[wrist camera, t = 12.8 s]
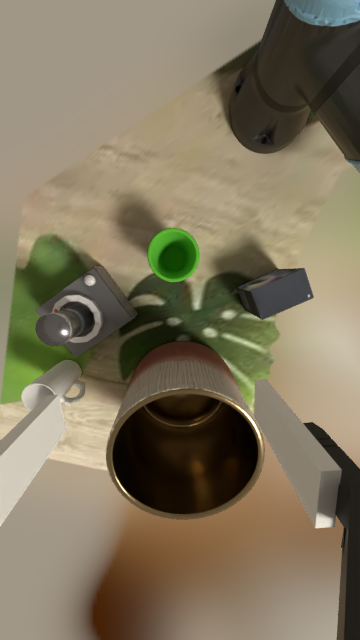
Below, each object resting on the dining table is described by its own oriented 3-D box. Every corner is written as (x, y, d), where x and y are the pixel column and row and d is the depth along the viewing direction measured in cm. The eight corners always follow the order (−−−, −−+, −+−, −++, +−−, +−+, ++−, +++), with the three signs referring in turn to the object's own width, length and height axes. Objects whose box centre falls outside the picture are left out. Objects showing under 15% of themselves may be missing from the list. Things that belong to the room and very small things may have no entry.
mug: (52, 377, 53) (17, 407, 42) (60, 354, 52) (26, 378, 40) (90, 391, 54) (67, 424, 43) (99, 369, 53) (77, 397, 41)
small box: (278, 266, 48) (306, 265, 38) (287, 292, 50) (316, 298, 40) (235, 286, 49) (250, 290, 39) (245, 311, 51) (262, 321, 40)
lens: (65, 305, 44) (32, 314, 35) (91, 304, 44) (67, 313, 35) (68, 331, 46) (38, 347, 36) (94, 330, 46) (71, 346, 36)
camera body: (103, 266, 48) (90, 265, 40) (138, 313, 50) (131, 320, 43) (49, 306, 49) (27, 312, 42) (85, 349, 52) (70, 362, 45)
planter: (228, 427, 58) (259, 520, 36) (134, 428, 57) (110, 523, 36) (233, 338, 52) (274, 385, 30) (129, 338, 52) (96, 387, 30)
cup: (146, 266, 48) (138, 265, 37) (166, 229, 46) (163, 216, 35) (181, 286, 49) (182, 291, 38) (201, 251, 47) (209, 245, 37)
